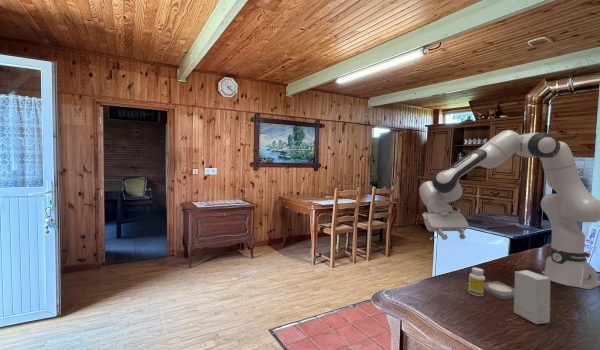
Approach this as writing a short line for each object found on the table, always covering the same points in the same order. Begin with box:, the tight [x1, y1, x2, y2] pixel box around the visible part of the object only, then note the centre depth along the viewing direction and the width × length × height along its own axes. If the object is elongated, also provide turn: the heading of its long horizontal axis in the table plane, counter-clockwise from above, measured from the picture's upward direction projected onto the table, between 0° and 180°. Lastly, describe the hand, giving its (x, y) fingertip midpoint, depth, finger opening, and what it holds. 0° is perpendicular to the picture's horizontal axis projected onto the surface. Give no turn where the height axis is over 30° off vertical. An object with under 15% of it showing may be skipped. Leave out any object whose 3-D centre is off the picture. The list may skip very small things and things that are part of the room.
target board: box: [484, 280, 515, 300], centre depth 122 cm, size 12×12×1 cm
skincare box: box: [513, 269, 551, 325], centre depth 101 cm, size 8×6×15 cm
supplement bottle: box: [467, 267, 486, 297], centre depth 118 cm, size 5×5×10 cm
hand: (454, 238), depth 130 cm, fingers open, 8 cm apart
